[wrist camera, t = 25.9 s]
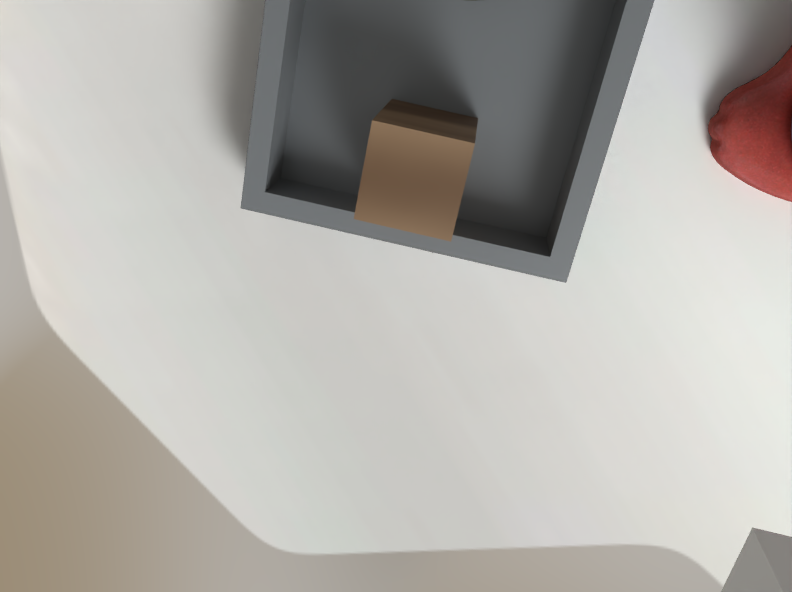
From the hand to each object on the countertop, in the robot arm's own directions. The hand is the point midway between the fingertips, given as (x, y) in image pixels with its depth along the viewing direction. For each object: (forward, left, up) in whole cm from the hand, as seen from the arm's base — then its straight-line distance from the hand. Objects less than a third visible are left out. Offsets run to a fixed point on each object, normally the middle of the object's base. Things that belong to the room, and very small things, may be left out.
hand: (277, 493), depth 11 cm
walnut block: (0, 0, -26) cm, 26 cm away
